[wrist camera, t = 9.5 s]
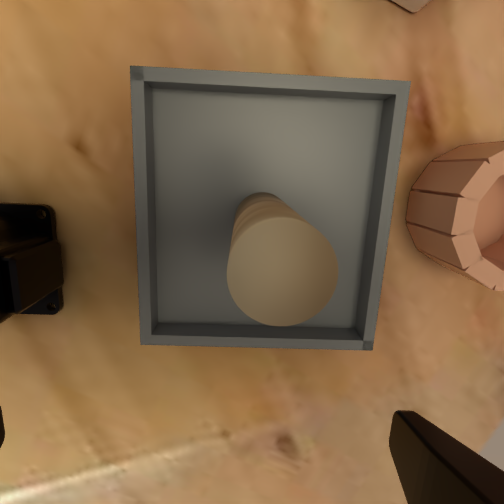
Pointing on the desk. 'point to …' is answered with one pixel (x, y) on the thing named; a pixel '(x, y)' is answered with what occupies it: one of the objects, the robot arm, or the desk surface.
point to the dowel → (278, 263)
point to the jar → (412, 4)
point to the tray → (254, 181)
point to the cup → (462, 212)
